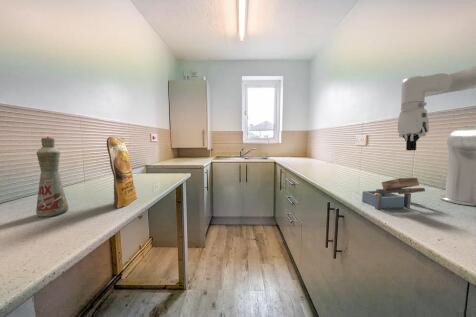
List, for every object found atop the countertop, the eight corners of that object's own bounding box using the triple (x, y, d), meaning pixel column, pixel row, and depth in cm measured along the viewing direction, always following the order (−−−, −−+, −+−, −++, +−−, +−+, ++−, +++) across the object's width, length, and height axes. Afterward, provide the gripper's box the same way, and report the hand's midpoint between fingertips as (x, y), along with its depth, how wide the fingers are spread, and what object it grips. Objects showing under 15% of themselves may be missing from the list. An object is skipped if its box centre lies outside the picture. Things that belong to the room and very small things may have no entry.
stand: (409, 208, 79) (411, 193, 78) (378, 209, 77) (379, 194, 76) (406, 206, 80) (407, 192, 80) (374, 208, 79) (375, 193, 78)
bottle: (75, 210, 77) (69, 136, 74) (46, 219, 68) (39, 136, 66) (59, 208, 79) (53, 136, 77) (30, 216, 71) (22, 136, 68)
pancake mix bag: (103, 210, 77) (98, 136, 74) (126, 196, 96) (123, 137, 93) (122, 209, 77) (118, 136, 75) (141, 196, 96) (138, 137, 94)
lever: (448, 188, 72) (444, 177, 74) (394, 190, 70) (391, 178, 71) (404, 194, 89) (402, 184, 90) (359, 196, 86) (357, 186, 88)
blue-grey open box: (403, 208, 79) (404, 196, 79) (381, 209, 78) (381, 197, 77) (382, 200, 89) (382, 190, 88) (362, 201, 88) (362, 191, 87)
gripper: (439, 103, 79) (437, 150, 81) (403, 110, 94) (402, 149, 96) (423, 104, 78) (421, 151, 80) (389, 110, 93) (388, 150, 95)
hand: (411, 150), depth 88 cm, fingers closed
